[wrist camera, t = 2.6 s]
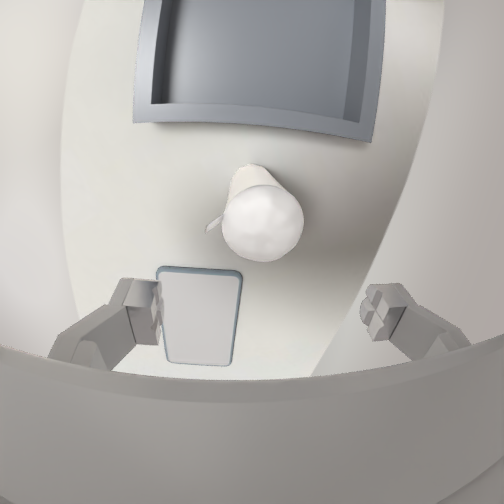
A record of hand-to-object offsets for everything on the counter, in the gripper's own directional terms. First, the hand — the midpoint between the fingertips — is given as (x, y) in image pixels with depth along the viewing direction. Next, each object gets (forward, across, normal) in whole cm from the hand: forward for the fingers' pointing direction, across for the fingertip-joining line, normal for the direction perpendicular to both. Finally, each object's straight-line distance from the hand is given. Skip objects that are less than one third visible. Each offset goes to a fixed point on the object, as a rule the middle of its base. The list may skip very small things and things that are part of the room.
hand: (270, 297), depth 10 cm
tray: (+14, 0, -14) cm, 19 cm away
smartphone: (+15, +4, +16) cm, 22 cm away
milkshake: (+14, 0, 0) cm, 14 cm away
